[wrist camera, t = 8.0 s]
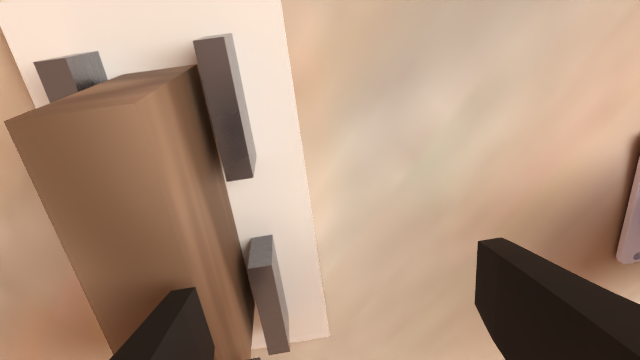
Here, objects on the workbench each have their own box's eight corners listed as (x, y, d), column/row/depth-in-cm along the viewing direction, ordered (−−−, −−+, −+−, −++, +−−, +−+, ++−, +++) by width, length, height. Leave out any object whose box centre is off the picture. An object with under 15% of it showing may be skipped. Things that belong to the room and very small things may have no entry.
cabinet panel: (275, -31, 15) (275, -34, 14) (327, 320, 22) (330, 336, 21) (12, 3, 14) (-10, 2, 13) (153, 349, 22) (147, 367, 21)
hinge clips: (231, 32, 14) (223, 36, 12) (288, 314, 20) (290, 351, 18) (70, 54, 14) (33, 61, 12) (174, 333, 20) (161, 373, 18)
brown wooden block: (217, 61, 15) (171, 97, 8) (270, 301, 20) (266, 440, 13) (123, 74, 15) (3, 121, 8) (200, 313, 20) (162, 458, 13)
